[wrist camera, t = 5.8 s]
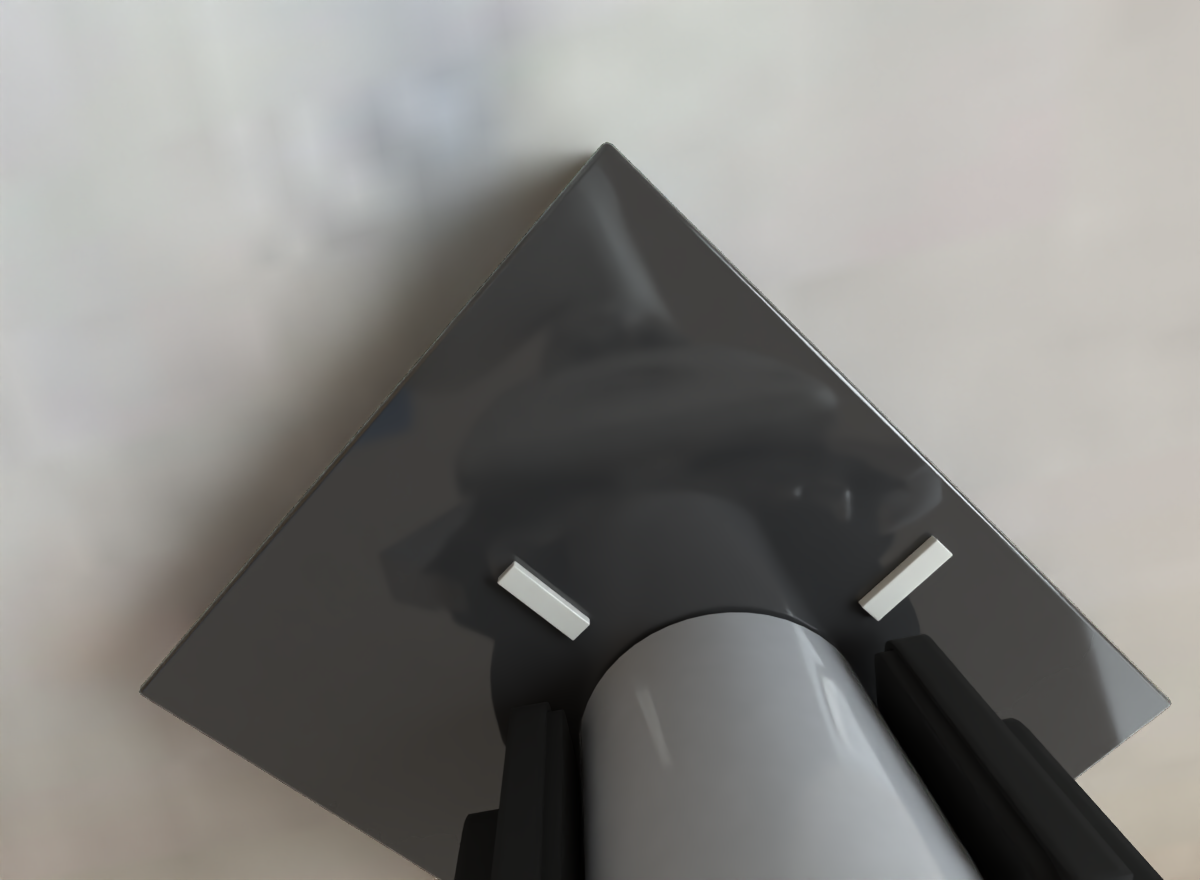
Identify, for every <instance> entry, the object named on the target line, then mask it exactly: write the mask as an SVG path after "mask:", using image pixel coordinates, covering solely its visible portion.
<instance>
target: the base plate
mask: <svg viewBox="0 0 1200 880" xmlns="http://www.w3.org/2000/svg"><path fill="white" fill-rule="evenodd" d="M725 612H749V613H757V614H765V615H770V616H774V617H778V618H781V619H785V620H788V621H790V622H793V623H795V624H798V625H801V626H803V627H805V628H807V629H809V630H810V631H812V632H814V633H816V634H818V635H819V636H821V637H822V638H824V639H825V640H826V641H827V642H829V643H830V644H831V645H833V646H834V647H835V648H836V649H837V650H838V651H839V652H840V653H841V654H842V655H843V656H844V657H845V658H846V660H847V661H848V662H849V664H850V665H851V667H852V668H853V669H854V671H855V672H856V674H857V675H858V677H859V679H860V680H861V682H862V683H863V685H864V687H865V688H866V690H867V691H868V693H869V695H870V696H871V698H872V699H873V701H874V703H875V704H876V706H877V693H876V678H875V664H874V657H875V654H876V653H880V652H885V644H886V642H887V641H888V640H894V639H899V638H905V637H911V636H916V635H922V634H926V635H928V636H929V637H931V638H932V639H933V640H934V642H935V643H936V644H937V645H938V646H939V648H940V649H941V650H942V651H943V652H944V653H945V655H946V656H947V657H948V658H949V659H950V660H951V662H952V663H953V664H954V665H955V666H956V667H957V669H958V670H959V671H960V672H961V673H962V674H963V676H964V677H965V678H966V679H967V680H968V681H969V683H970V684H971V685H972V686H973V687H974V688H975V690H976V691H977V692H978V693H979V694H980V695H981V697H982V698H983V699H984V700H985V701H986V702H987V704H988V705H989V706H990V707H991V708H992V709H993V711H994V712H995V713H996V714H997V715H998V716H999V718H1000V719H1001V720H1002V719H1008V718H1014V719H1016V720H1019V721H1020V722H1022V723H1023V724H1024V725H1025V726H1026V727H1027V728H1028V729H1029V730H1030V731H1031V732H1032V733H1033V734H1034V735H1035V737H1036V738H1037V739H1038V740H1039V741H1040V742H1041V743H1042V744H1043V746H1044V747H1045V748H1046V749H1047V750H1048V751H1049V752H1050V753H1051V754H1052V756H1053V757H1054V758H1055V759H1056V760H1057V761H1058V762H1059V763H1060V765H1061V766H1062V767H1063V768H1064V769H1065V770H1066V771H1067V772H1068V773H1069V775H1070V776H1071V777H1072V778H1073V779H1074V780H1076V779H1077V778H1078V777H1079V776H1081V775H1082V774H1083V773H1085V772H1086V771H1087V770H1088V769H1090V768H1091V767H1092V766H1094V765H1095V764H1096V763H1098V762H1099V761H1100V760H1101V759H1103V758H1104V757H1105V756H1107V755H1108V754H1109V753H1111V752H1112V751H1113V750H1114V749H1116V748H1117V747H1118V746H1120V745H1121V744H1122V743H1123V742H1125V741H1126V740H1127V739H1129V738H1130V737H1131V736H1133V735H1134V734H1135V733H1136V732H1138V731H1139V730H1140V729H1142V728H1143V727H1144V726H1145V725H1147V724H1148V723H1149V722H1151V721H1152V720H1153V719H1155V718H1156V717H1157V716H1158V715H1160V714H1161V713H1162V712H1164V711H1165V710H1166V709H1168V708H1169V707H1170V705H1171V701H1170V699H1169V698H1168V697H1167V696H1166V695H1165V694H1164V693H1163V692H1162V691H1161V690H1160V689H1159V688H1158V687H1157V686H1156V685H1155V684H1154V683H1153V682H1152V681H1151V680H1150V679H1149V678H1148V677H1147V676H1146V675H1145V674H1144V673H1143V672H1142V671H1141V670H1140V669H1139V668H1138V667H1137V666H1136V665H1135V664H1134V663H1133V662H1132V661H1131V660H1130V659H1129V658H1128V657H1127V656H1126V655H1125V654H1124V653H1123V652H1122V651H1121V650H1120V649H1119V648H1118V647H1117V646H1116V645H1115V644H1114V643H1113V642H1112V641H1111V640H1110V639H1109V638H1108V637H1107V636H1106V635H1105V634H1104V633H1103V632H1102V631H1101V630H1100V629H1099V628H1098V627H1097V626H1096V625H1095V624H1094V623H1093V622H1092V621H1091V620H1090V619H1089V618H1088V617H1087V616H1086V615H1085V614H1084V613H1083V612H1082V611H1081V610H1080V609H1079V608H1078V607H1077V606H1076V605H1075V604H1074V603H1073V602H1072V601H1071V600H1070V599H1069V598H1068V597H1067V596H1066V595H1065V594H1064V593H1063V592H1062V591H1061V590H1060V589H1059V588H1058V587H1057V586H1056V585H1055V584H1054V583H1053V582H1052V581H1051V580H1050V579H1049V578H1048V577H1047V576H1046V575H1045V574H1044V573H1043V572H1042V571H1041V570H1040V569H1039V568H1038V567H1037V566H1036V565H1035V564H1034V563H1033V562H1032V561H1031V560H1030V559H1029V558H1028V557H1027V556H1026V555H1025V554H1024V553H1023V552H1022V551H1021V550H1020V549H1019V548H1018V547H1017V546H1016V545H1015V544H1014V543H1013V542H1012V541H1011V540H1010V539H1009V538H1008V537H1007V536H1006V535H1005V534H1004V533H1003V532H1002V531H1001V530H1000V529H999V528H998V527H997V526H996V525H995V524H993V523H992V522H991V521H990V520H989V519H988V518H987V517H986V516H985V515H984V514H983V513H982V512H981V511H980V510H979V509H978V508H977V507H976V506H975V505H974V504H973V503H972V502H971V501H970V500H969V499H968V498H967V497H966V496H965V495H964V494H963V493H962V492H961V491H960V490H959V489H958V488H957V487H956V486H955V485H954V484H953V483H952V482H951V481H950V480H949V479H948V478H947V477H946V476H945V475H944V474H943V473H942V472H941V471H940V470H939V469H938V468H937V467H936V466H935V465H934V464H933V463H932V462H931V461H930V460H929V459H928V458H927V457H926V456H925V455H924V454H923V453H922V452H921V451H920V450H919V449H918V448H917V447H916V446H915V445H914V444H913V443H912V442H911V441H910V440H909V439H908V438H907V437H906V436H905V435H904V434H903V433H902V432H901V431H900V430H899V429H898V428H897V427H896V426H895V425H894V424H893V423H892V422H891V421H890V420H889V419H888V418H887V417H886V416H885V415H884V414H883V413H882V412H881V411H880V410H879V409H878V408H877V407H876V406H875V405H874V404H873V403H872V402H871V401H870V400H869V399H868V398H867V397H866V396H865V395H864V394H863V393H862V392H861V391H860V390H859V389H858V388H857V387H856V386H855V385H854V384H853V383H852V382H851V381H850V380H849V379H848V378H847V377H846V376H845V375H844V374H843V373H842V372H841V371H840V370H839V369H838V368H837V367H836V366H835V365H834V364H833V363H832V362H831V361H830V360H829V359H828V358H827V357H826V356H825V355H824V354H823V353H822V352H821V351H820V350H819V349H818V348H817V347H816V346H815V345H814V344H813V343H812V342H811V341H810V340H809V339H808V338H807V337H806V336H805V335H804V334H803V333H802V332H801V331H800V330H799V329H798V328H797V327H796V326H795V325H794V324H793V323H792V322H791V321H790V320H789V319H788V318H787V317H786V316H785V315H784V314H783V313H782V312H781V311H780V310H779V309H778V308H777V307H776V306H775V305H774V304H773V303H772V302H771V301H770V300H769V299H768V298H767V297H766V296H765V295H764V294H763V293H762V292H761V291H760V290H759V289H758V288H757V287H756V286H755V285H754V284H753V283H752V282H751V281H750V280H749V279H748V278H747V277H746V276H745V275H744V274H743V273H742V272H741V271H740V270H739V269H738V268H737V267H735V266H734V265H733V264H732V263H731V262H730V261H729V260H728V259H727V258H726V257H725V256H724V255H723V254H722V253H721V252H720V251H719V250H718V249H717V248H716V247H715V246H714V245H713V244H712V243H711V242H710V241H709V240H708V239H707V238H706V237H705V236H704V235H703V234H702V233H701V232H700V231H699V230H698V229H697V228H696V227H695V226H694V225H693V224H692V223H691V222H690V221H689V220H688V219H687V218H686V217H685V216H684V215H683V214H682V213H681V212H680V211H679V210H678V209H677V208H676V207H675V206H674V205H673V204H672V203H671V202H670V201H669V200H668V199H667V198H666V197H665V196H664V195H663V194H662V193H661V192H660V191H659V190H658V189H657V188H656V187H655V186H654V185H653V184H652V183H651V182H650V181H649V180H648V179H647V178H646V177H645V176H644V175H643V174H642V173H641V172H640V171H639V170H638V169H637V168H636V167H635V166H634V165H633V164H632V163H631V162H630V161H629V160H628V159H627V158H626V157H625V156H624V155H623V154H622V153H621V152H620V151H619V150H618V149H617V148H616V147H615V146H614V145H613V144H611V143H609V142H605V143H603V144H602V145H601V146H600V147H599V148H598V149H597V151H596V152H595V153H594V154H593V155H592V156H591V158H590V159H589V160H588V161H587V162H586V163H585V165H584V166H583V167H582V168H581V169H580V171H579V172H578V173H577V174H576V175H575V176H574V178H573V179H572V180H571V181H570V182H569V183H568V185H567V186H566V187H565V188H564V189H563V191H562V192H561V193H560V194H559V195H558V196H557V198H556V199H555V200H554V201H553V202H552V203H551V205H550V206H549V207H548V208H547V209H546V211H545V212H544V213H543V214H542V215H541V216H540V218H539V219H538V220H537V221H536V222H535V223H534V225H533V226H532V227H531V228H530V229H529V231H528V232H527V233H526V234H525V235H524V236H523V238H522V239H521V240H520V241H519V242H518V243H517V245H516V246H515V247H514V248H513V249H512V250H511V252H510V253H509V254H508V255H507V256H506V258H505V259H504V260H503V261H502V262H501V263H500V265H499V266H498V267H497V268H496V269H495V270H494V272H493V273H492V274H491V275H490V276H489V278H488V279H487V280H486V281H485V282H484V283H483V285H482V286H481V287H480V288H479V289H478V290H477V292H476V293H475V294H474V295H473V296H472V298H471V299H470V300H469V301H468V302H467V303H466V305H465V306H464V307H463V308H462V309H461V310H460V312H459V313H458V314H457V315H456V316H455V318H454V319H453V320H452V321H451V322H450V323H449V325H448V326H447V327H446V328H445V329H444V330H443V332H442V333H441V334H440V335H439V336H438V337H437V339H436V340H435V341H434V342H433V343H432V345H431V346H430V347H429V348H428V349H427V350H426V352H425V353H424V354H423V355H422V356H421V357H420V359H419V360H418V361H417V362H416V363H415V365H414V366H413V367H412V368H411V369H410V370H409V372H408V373H407V374H406V375H405V376H404V377H403V379H402V380H401V381H400V382H399V383H398V385H397V386H396V387H395V388H394V389H393V390H392V392H391V393H390V394H389V395H388V396H387V397H386V399H385V400H384V401H383V402H382V403H381V405H380V406H379V407H378V408H377V409H376V410H375V412H374V413H373V414H372V415H371V416H370V417H369V419H368V420H367V421H366V422H365V423H364V424H363V426H362V427H361V428H360V429H359V430H358V432H357V433H356V434H355V435H354V436H353V437H352V439H351V440H350V441H349V442H348V443H347V444H346V446H345V447H344V448H343V449H342V450H341V452H340V453H339V454H338V455H337V456H336V457H335V459H334V460H333V461H332V462H331V463H330V464H329V466H328V467H327V468H326V469H325V470H324V472H323V473H322V474H321V475H320V476H319V477H318V479H317V480H316V481H315V482H314V483H313V484H312V486H311V487H310V488H309V489H308V490H307V492H306V493H305V494H304V495H303V496H302V497H301V499H300V500H299V501H298V502H297V503H296V504H295V506H294V507H293V508H292V509H291V510H290V511H289V513H288V514H287V515H286V516H285V517H284V519H283V520H282V521H281V522H280V523H279V524H278V526H277V527H276V528H275V529H274V530H273V531H272V533H271V534H270V535H269V536H268V537H267V539H266V540H265V541H264V542H263V543H262V544H261V546H260V547H259V548H258V549H257V550H256V551H255V553H254V554H253V555H252V556H251V557H250V559H249V560H248V561H247V562H246V563H245V564H244V566H243V567H242V568H241V569H240V570H239V571H238V573H237V574H236V575H235V576H234V577H233V579H232V580H231V581H230V582H229V583H228V584H227V586H226V587H225V588H224V589H223V590H222V591H221V593H220V594H219V595H218V596H217V597H216V598H215V600H214V601H213V602H212V603H211V604H210V606H209V607H208V608H207V609H206V610H205V611H204V613H203V614H202V615H201V616H200V617H199V618H198V620H197V621H196V622H195V623H194V624H193V626H192V627H191V628H190V629H189V630H188V631H187V633H186V634H185V635H184V636H183V637H182V638H181V640H180V641H179V642H178V643H177V644H176V646H175V647H174V648H173V649H172V650H171V651H170V653H169V654H168V655H167V656H166V657H165V658H164V660H163V661H162V662H161V663H160V664H159V666H158V667H157V668H156V669H155V670H154V671H153V673H152V674H151V675H150V676H149V677H148V678H147V680H146V681H145V682H144V683H143V684H142V685H141V687H140V691H139V693H140V694H141V695H142V696H143V697H145V698H146V699H148V700H150V701H151V702H153V703H155V704H156V705H158V706H159V707H161V708H163V709H164V710H166V711H167V712H169V713H171V714H172V715H174V716H176V717H177V718H179V719H180V720H182V721H184V722H185V723H187V724H188V725H190V726H192V727H193V728H195V729H197V730H198V731H200V732H201V733H203V734H205V735H206V736H208V737H209V738H211V739H213V740H214V741H216V742H218V743H219V744H221V745H222V746H224V747H226V748H227V749H229V750H230V751H232V752H234V753H235V754H237V755H238V756H240V757H242V758H243V759H245V760H247V761H248V762H250V763H251V764H253V765H255V766H256V767H258V768H259V769H261V770H263V771H264V772H266V773H268V774H269V775H271V776H272V777H274V778H276V779H277V780H279V781H280V782H282V783H284V784H285V785H287V786H289V787H290V788H292V789H293V790H295V791H297V792H298V793H300V794H301V795H303V796H305V797H306V798H308V799H310V800H311V801H313V802H314V803H316V804H318V805H319V806H321V807H322V808H324V809H326V810H327V811H329V812H331V813H332V814H334V815H335V816H337V817H339V818H340V819H342V820H343V821H345V822H347V823H348V824H350V825H351V826H353V827H355V828H356V829H358V830H360V831H361V832H363V833H364V834H366V835H368V836H369V837H371V838H372V839H374V840H376V841H377V842H379V843H381V844H382V845H384V846H385V847H387V848H389V849H390V850H392V851H393V852H395V853H397V854H398V855H400V856H402V857H403V858H405V859H406V860H408V861H410V862H411V863H413V864H414V865H416V866H418V867H419V868H421V869H423V870H424V871H426V872H427V873H429V874H431V875H432V876H434V877H435V878H437V879H439V880H454V877H455V871H456V865H457V859H458V853H459V847H460V842H461V836H462V830H463V826H464V822H465V819H466V817H467V816H468V814H472V813H478V812H484V811H489V810H495V809H499V803H500V794H501V785H502V777H503V768H504V759H505V751H506V742H507V733H508V724H509V716H510V710H511V709H512V708H515V707H520V706H526V705H531V704H537V703H542V702H549V704H550V707H551V710H552V711H556V710H562V709H563V710H564V712H565V715H566V719H567V723H568V727H569V732H570V736H571V740H572V745H573V749H574V753H575V757H576V762H577V766H578V770H579V733H580V727H581V722H582V717H583V714H584V711H585V709H586V706H587V703H588V701H589V699H590V697H591V695H592V693H593V691H594V689H595V687H596V685H597V684H598V683H599V681H600V680H601V678H602V677H603V676H604V674H605V673H606V672H607V670H608V669H609V668H610V667H611V666H612V665H613V664H614V663H615V662H616V661H617V659H618V658H619V657H620V656H622V655H623V654H624V653H625V652H626V651H628V650H629V649H630V648H631V647H632V646H634V645H635V644H636V643H638V642H640V641H641V640H643V639H644V638H646V637H647V636H649V635H651V634H652V633H654V632H657V631H659V630H661V629H663V628H665V627H667V626H669V625H672V624H675V623H677V622H680V621H683V620H686V619H689V618H694V617H698V616H703V615H707V614H716V613H725Z"/></svg>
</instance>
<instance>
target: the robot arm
mask: <svg viewBox="0 0 1200 880" xmlns="http://www.w3.org/2000/svg"><path fill="white" fill-rule="evenodd" d="M874 664H875V678H876V693H877V707H878V709H879V710H880V712H881V714H882V715H883V717H884V718H885V720H886V722H887V723H888V725H889V726H890V728H891V730H892V731H893V733H894V734H895V736H896V738H897V739H898V741H899V742H900V744H901V745H902V747H903V749H904V750H905V752H906V753H907V755H908V757H909V758H910V760H911V761H912V763H913V765H914V766H915V768H916V769H917V771H918V773H919V774H920V776H921V777H922V779H923V780H924V782H925V784H926V785H927V787H928V788H929V790H930V792H931V793H932V795H933V796H934V798H935V800H936V801H937V803H938V804H939V806H940V808H941V809H942V811H943V812H944V814H945V816H946V817H947V819H948V820H949V822H950V823H951V825H952V827H953V828H954V830H955V831H956V833H957V835H958V836H959V838H960V839H961V841H962V843H963V844H964V846H965V847H966V849H967V851H968V852H969V854H970V855H971V857H972V858H973V860H974V862H975V863H976V865H977V866H978V868H979V870H980V871H981V873H982V874H983V876H984V878H985V879H986V880H1163V879H1162V878H1161V876H1160V875H1159V874H1158V873H1157V872H1156V871H1155V870H1154V869H1153V867H1152V866H1151V865H1150V864H1149V863H1148V862H1147V861H1146V860H1145V859H1144V857H1143V856H1142V855H1141V854H1140V853H1139V852H1138V851H1137V850H1136V848H1135V847H1134V846H1133V845H1132V844H1131V843H1130V842H1129V841H1128V839H1127V838H1126V837H1125V836H1124V835H1123V834H1122V833H1121V832H1120V831H1119V829H1118V828H1117V827H1116V826H1115V825H1114V824H1113V823H1112V822H1111V820H1110V819H1109V818H1108V817H1107V816H1106V815H1105V814H1104V813H1103V812H1102V810H1101V809H1100V808H1099V807H1098V806H1097V805H1096V804H1095V803H1094V801H1093V800H1092V799H1091V798H1090V797H1089V796H1088V795H1087V794H1086V793H1085V791H1084V790H1083V789H1082V788H1081V787H1080V786H1079V785H1078V784H1077V782H1076V781H1075V780H1074V779H1073V778H1072V777H1071V776H1070V775H1069V773H1068V772H1067V771H1066V770H1065V769H1064V768H1063V767H1062V766H1061V765H1060V763H1059V762H1058V761H1057V760H1056V759H1055V758H1054V757H1053V756H1052V754H1051V753H1050V752H1049V751H1048V750H1047V749H1046V748H1045V747H1044V746H1043V744H1042V743H1041V742H1040V741H1039V740H1038V739H1037V738H1036V737H1035V735H1034V734H1033V733H1032V732H1031V731H1030V730H1029V729H1028V728H1027V727H1026V726H1025V725H1024V724H1023V723H1022V722H1020V721H1019V720H1016V719H1014V718H1008V719H1002V720H1001V719H1000V718H999V716H998V715H997V714H996V713H995V712H994V711H993V709H992V708H991V707H990V706H989V705H988V704H987V702H986V701H985V700H984V699H983V698H982V697H981V695H980V694H979V693H978V692H977V691H976V690H975V688H974V687H973V686H972V685H971V684H970V683H969V681H968V680H967V679H966V678H965V677H964V676H963V674H962V673H961V672H960V671H959V670H958V669H957V667H956V666H955V665H954V664H953V663H952V662H951V660H950V659H949V658H948V657H947V656H946V655H945V653H944V652H943V651H942V650H941V649H940V648H939V646H938V645H937V644H936V643H935V642H934V640H933V639H932V638H931V637H929V636H928V635H926V634H922V635H916V636H911V637H905V638H899V639H894V640H888V641H887V642H886V644H885V652H880V653H876V654H875V657H874ZM454 880H582V870H581V825H580V779H579V770H578V766H577V762H576V757H575V753H574V749H573V745H572V740H571V736H570V732H569V727H568V723H567V719H566V715H565V712H564V710H563V709H562V710H556V711H552V710H551V707H550V704H549V702H542V703H537V704H531V705H526V706H520V707H515V708H512V709H511V710H510V716H509V724H508V733H507V742H506V751H505V759H504V768H503V777H502V785H501V794H500V803H499V809H495V810H489V811H484V812H478V813H472V814H468V816H467V817H466V819H465V822H464V826H463V830H462V836H461V842H460V847H459V853H458V859H457V865H456V871H455V877H454Z"/></svg>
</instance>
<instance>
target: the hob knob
mask: <svg viewBox="0 0 1200 880" xmlns="http://www.w3.org/2000/svg"><path fill="white" fill-rule="evenodd" d="M579 779H580V825H581V870H582V880H986V879H985V878H984V876H983V874H982V873H981V871H980V870H979V868H978V866H977V865H976V863H975V862H974V860H973V858H972V857H971V855H970V854H969V852H968V851H967V849H966V847H965V846H964V844H963V843H962V841H961V839H960V838H959V836H958V835H957V833H956V831H955V830H954V828H953V827H952V825H951V823H950V822H949V820H948V819H947V817H946V816H945V814H944V812H943V811H942V809H941V808H940V806H939V804H938V803H937V801H936V800H935V798H934V796H933V795H932V793H931V792H930V790H929V788H928V787H927V785H926V784H925V782H924V780H923V779H922V777H921V776H920V774H919V773H918V771H917V769H916V768H915V766H914V765H913V763H912V761H911V760H910V758H909V757H908V755H907V753H906V752H905V750H904V749H903V747H902V745H901V744H900V742H899V741H898V739H897V738H896V736H895V734H894V733H893V731H892V730H891V728H890V726H889V725H888V723H887V722H886V720H885V718H884V717H883V715H882V714H881V712H880V710H879V709H878V707H877V706H876V704H875V703H874V701H873V699H872V698H871V696H870V695H869V693H868V691H867V690H866V688H865V687H864V685H863V683H862V682H861V680H860V679H859V677H858V675H857V674H856V672H855V671H854V669H853V668H852V667H851V665H850V664H849V662H848V661H847V660H846V658H845V657H844V656H843V655H842V654H841V653H840V652H839V651H838V650H837V649H836V648H835V647H834V646H833V645H831V644H830V643H829V642H827V641H826V640H825V639H824V638H822V637H821V636H819V635H818V634H816V633H814V632H812V631H810V630H809V629H807V628H805V627H803V626H801V625H798V624H795V623H793V622H790V621H788V620H785V619H781V618H778V617H774V616H770V615H765V614H757V613H749V612H725V613H716V614H707V615H703V616H698V617H694V618H689V619H686V620H683V621H680V622H677V623H675V624H672V625H669V626H667V627H665V628H663V629H661V630H659V631H657V632H654V633H652V634H651V635H649V636H647V637H646V638H644V639H643V640H641V641H640V642H638V643H636V644H635V645H634V646H632V647H631V648H630V649H629V650H628V651H626V652H625V653H624V654H623V655H622V656H620V657H619V658H618V659H617V661H616V662H615V663H614V664H613V665H612V666H611V667H610V668H609V669H608V670H607V672H606V673H605V674H604V676H603V677H602V678H601V680H600V681H599V683H598V684H597V685H596V687H595V689H594V691H593V693H592V695H591V697H590V699H589V701H588V703H587V706H586V709H585V711H584V714H583V717H582V722H581V727H580V733H579Z"/></svg>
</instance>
